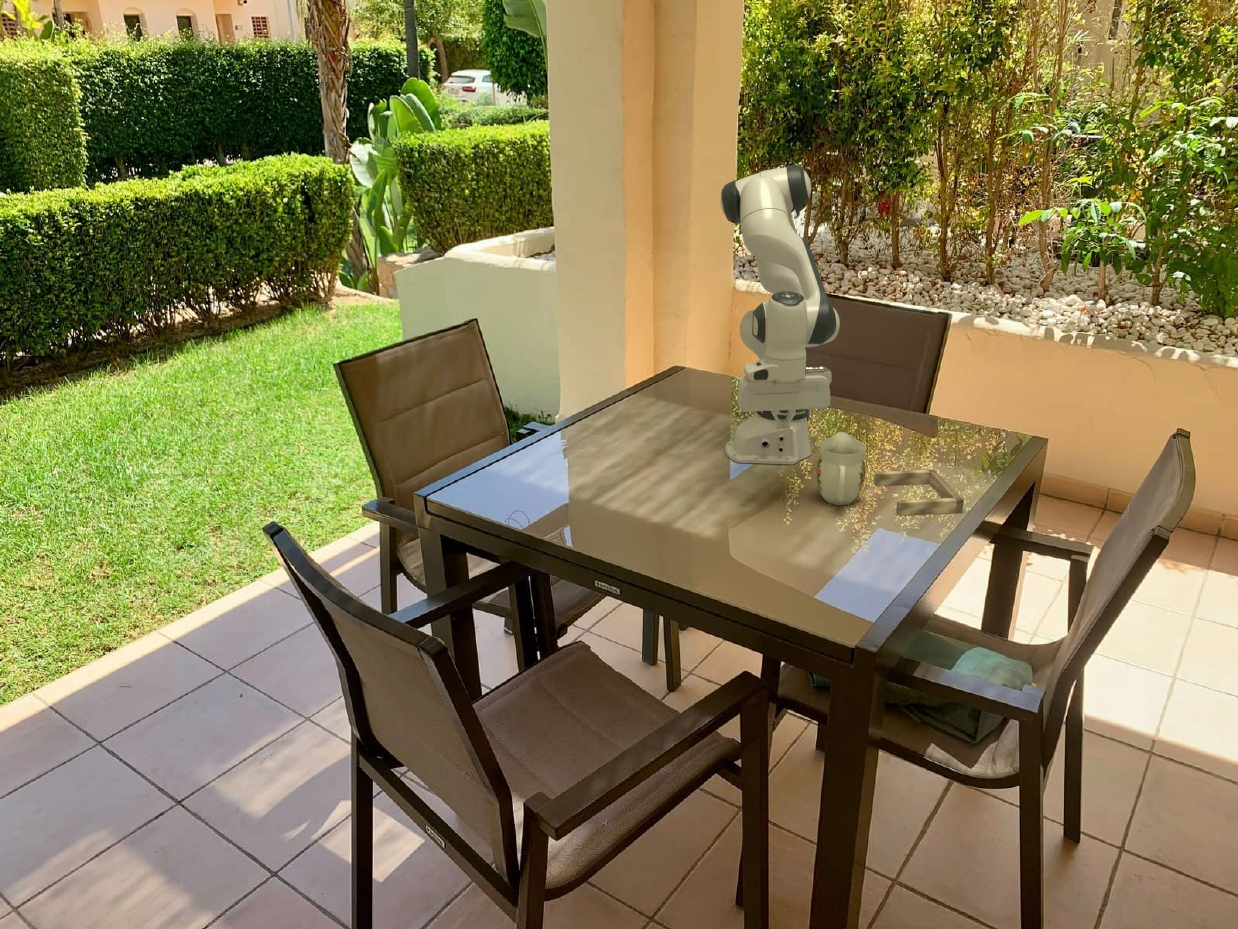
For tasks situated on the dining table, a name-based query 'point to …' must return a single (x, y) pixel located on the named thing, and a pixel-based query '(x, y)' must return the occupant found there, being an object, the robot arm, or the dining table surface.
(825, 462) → the pitcher
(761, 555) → the dining table surface
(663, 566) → the dining table surface
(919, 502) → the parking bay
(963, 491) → the dining table surface
